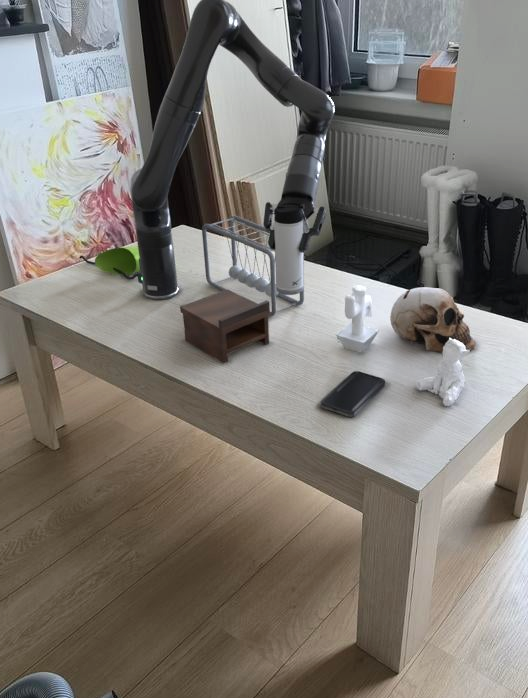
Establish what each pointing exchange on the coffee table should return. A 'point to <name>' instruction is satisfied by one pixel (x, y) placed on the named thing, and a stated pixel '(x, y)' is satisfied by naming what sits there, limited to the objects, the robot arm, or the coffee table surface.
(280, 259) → the travel mug
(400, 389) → the coffee table surface
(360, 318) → the figurine
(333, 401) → the phone
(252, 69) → the robot arm
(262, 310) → the brown wooden stand
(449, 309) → the coin bank
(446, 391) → the white creature statuette
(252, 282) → the newton's cradle
